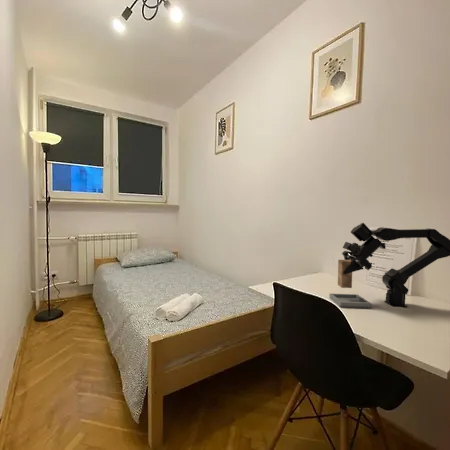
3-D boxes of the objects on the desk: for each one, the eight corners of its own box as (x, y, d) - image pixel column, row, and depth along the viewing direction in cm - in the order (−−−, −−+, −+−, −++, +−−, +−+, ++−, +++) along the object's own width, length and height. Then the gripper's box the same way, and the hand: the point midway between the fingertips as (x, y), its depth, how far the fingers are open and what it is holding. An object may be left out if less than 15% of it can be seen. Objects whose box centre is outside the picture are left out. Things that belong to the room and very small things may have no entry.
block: (347, 285, 118) (348, 259, 117) (351, 287, 113) (352, 261, 113) (337, 284, 118) (338, 259, 118) (341, 287, 114) (342, 261, 113)
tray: (356, 298, 119) (357, 294, 119) (371, 308, 107) (371, 303, 107) (329, 298, 120) (329, 293, 120) (340, 307, 108) (340, 302, 108)
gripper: (346, 234, 124) (323, 256, 125) (365, 238, 105) (337, 263, 106) (362, 250, 124) (338, 272, 125) (384, 257, 105) (356, 282, 106)
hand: (342, 272), depth 116 cm, fingers closed on block, 4 cm apart
